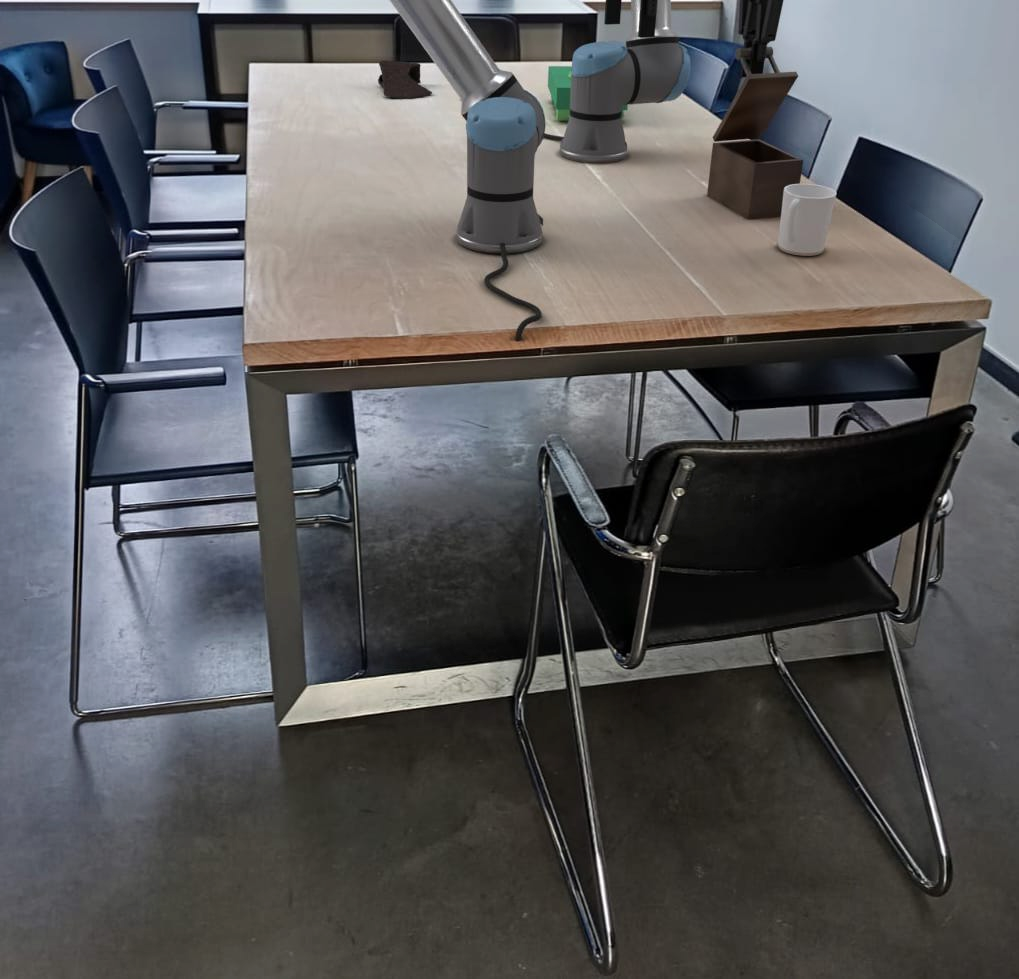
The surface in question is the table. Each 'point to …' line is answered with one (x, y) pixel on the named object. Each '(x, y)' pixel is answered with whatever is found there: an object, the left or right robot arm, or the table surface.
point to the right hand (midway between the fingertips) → (751, 77)
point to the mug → (805, 218)
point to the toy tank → (562, 91)
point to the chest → (752, 177)
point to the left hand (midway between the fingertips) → (628, 30)
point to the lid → (754, 100)
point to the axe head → (401, 79)
